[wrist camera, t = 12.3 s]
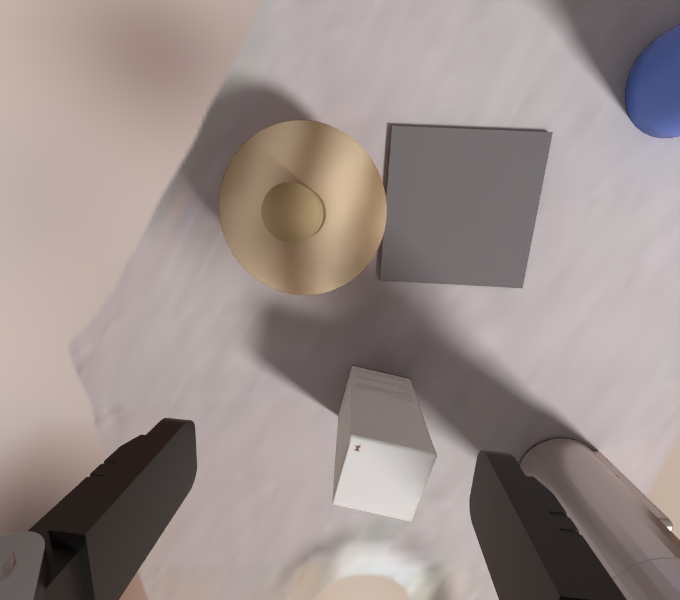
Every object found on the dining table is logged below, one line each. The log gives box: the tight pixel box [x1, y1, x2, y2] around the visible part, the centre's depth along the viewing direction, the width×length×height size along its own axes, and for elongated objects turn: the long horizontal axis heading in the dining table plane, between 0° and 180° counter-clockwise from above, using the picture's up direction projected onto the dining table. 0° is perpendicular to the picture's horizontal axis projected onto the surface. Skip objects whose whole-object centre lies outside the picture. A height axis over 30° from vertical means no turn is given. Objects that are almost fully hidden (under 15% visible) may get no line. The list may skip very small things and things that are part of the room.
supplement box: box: [333, 366, 437, 522], centre depth 33 cm, size 7×7×13 cm
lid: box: [219, 120, 387, 295], centre depth 25 cm, size 14×14×6 cm
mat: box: [379, 126, 553, 288], centre depth 33 cm, size 15×15×1 cm
